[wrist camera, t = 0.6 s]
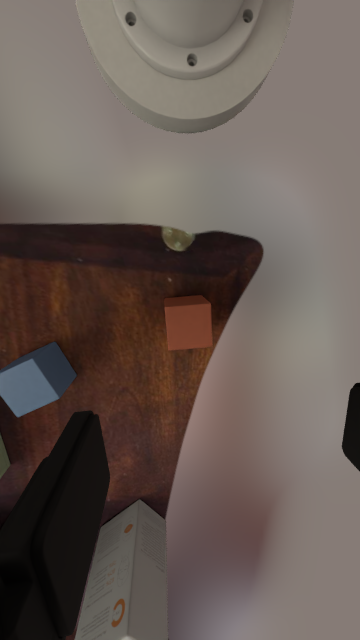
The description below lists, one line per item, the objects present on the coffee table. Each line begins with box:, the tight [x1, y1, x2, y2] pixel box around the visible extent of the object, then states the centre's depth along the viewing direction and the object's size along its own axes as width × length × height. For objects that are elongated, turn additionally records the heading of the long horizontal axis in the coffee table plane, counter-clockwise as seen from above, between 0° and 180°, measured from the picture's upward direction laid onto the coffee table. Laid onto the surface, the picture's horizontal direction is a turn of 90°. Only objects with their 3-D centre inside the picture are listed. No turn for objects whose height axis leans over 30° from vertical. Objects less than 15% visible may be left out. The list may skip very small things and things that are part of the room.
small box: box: [75, 499, 168, 640], centre depth 29 cm, size 8×6×13 cm
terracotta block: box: [164, 295, 213, 351], centre depth 25 cm, size 4×4×6 cm
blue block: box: [0, 342, 77, 417], centre depth 25 cm, size 5×5×5 cm
